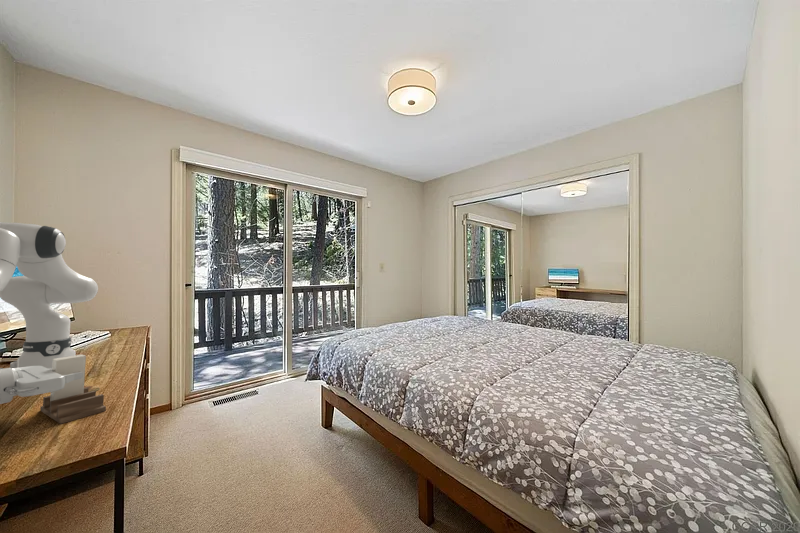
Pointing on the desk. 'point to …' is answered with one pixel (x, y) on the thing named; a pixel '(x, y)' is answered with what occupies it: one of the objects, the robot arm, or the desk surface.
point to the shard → (92, 388)
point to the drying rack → (73, 406)
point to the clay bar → (65, 368)
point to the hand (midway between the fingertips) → (76, 372)
